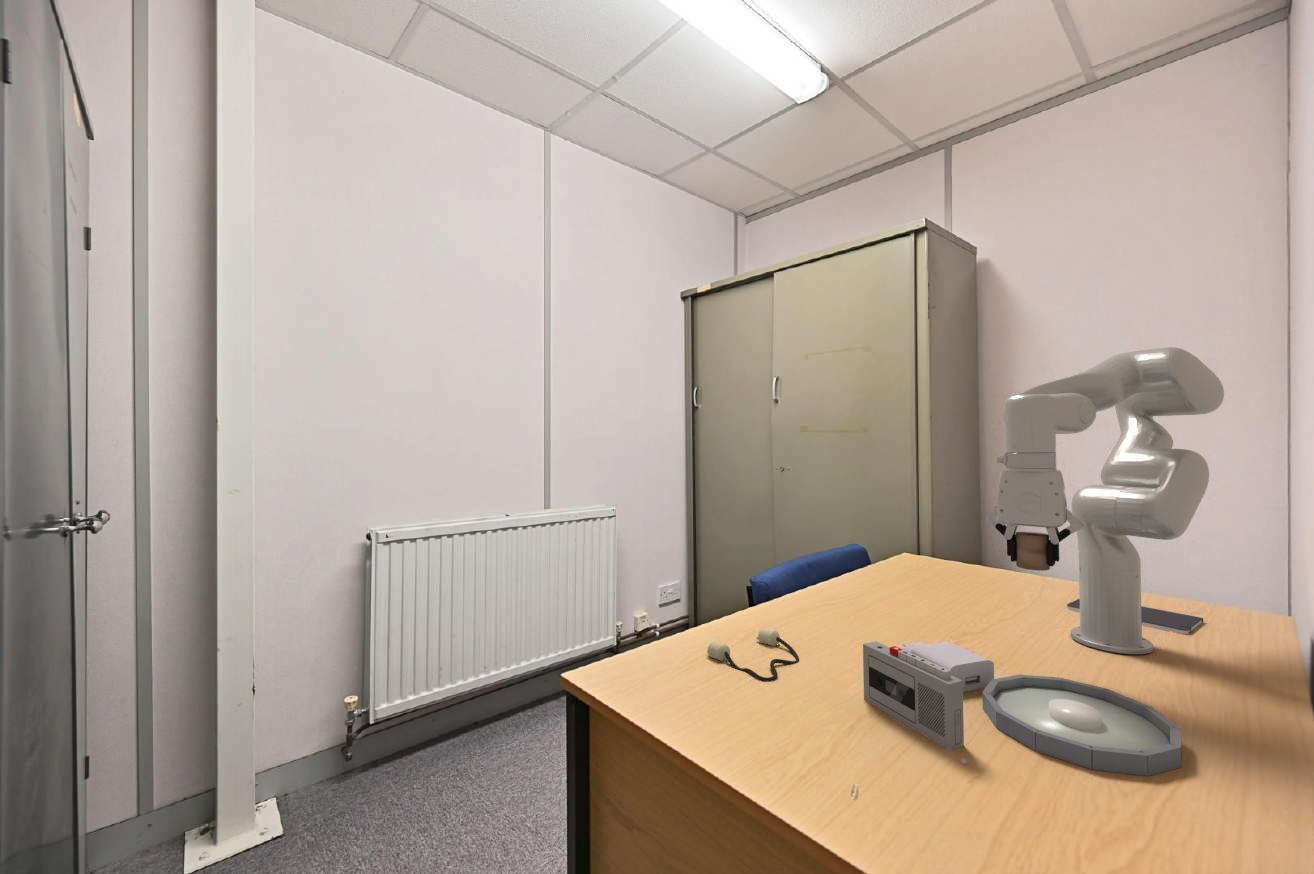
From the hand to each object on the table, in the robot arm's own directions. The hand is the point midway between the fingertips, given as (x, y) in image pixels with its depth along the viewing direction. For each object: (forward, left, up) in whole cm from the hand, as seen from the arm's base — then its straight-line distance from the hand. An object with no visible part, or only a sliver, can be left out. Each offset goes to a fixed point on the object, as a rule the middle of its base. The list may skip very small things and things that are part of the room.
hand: (1032, 561), depth 98 cm
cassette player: (+34, -10, -19) cm, 41 cm away
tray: (+20, +8, -19) cm, 29 cm away
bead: (0, 0, -1) cm, 1 cm away
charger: (+14, -12, -20) cm, 27 cm away
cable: (+29, -39, -20) cm, 53 cm away
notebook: (-47, +11, -20) cm, 52 cm away
